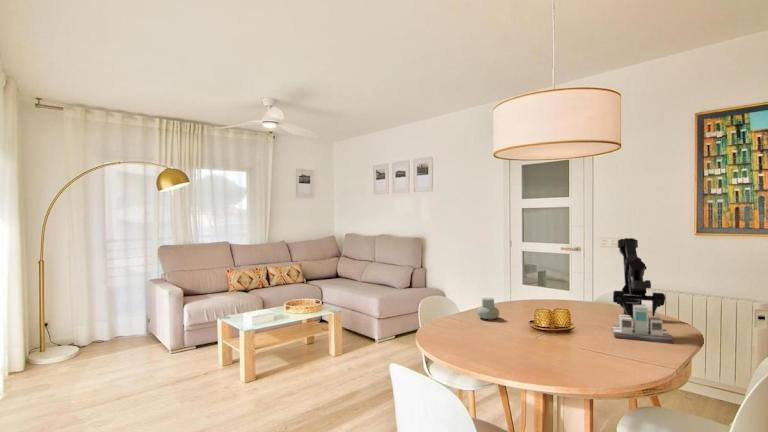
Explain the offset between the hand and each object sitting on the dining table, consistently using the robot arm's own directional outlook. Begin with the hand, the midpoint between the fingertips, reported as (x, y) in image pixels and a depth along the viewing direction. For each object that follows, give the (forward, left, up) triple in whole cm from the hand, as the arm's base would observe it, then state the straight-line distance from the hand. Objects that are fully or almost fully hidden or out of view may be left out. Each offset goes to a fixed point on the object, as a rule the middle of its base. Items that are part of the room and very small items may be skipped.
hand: (640, 314), depth 166 cm
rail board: (-1, 0, -9) cm, 9 cm away
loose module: (-1, 0, -8) cm, 8 cm away
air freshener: (-11, -64, -9) cm, 66 cm away
